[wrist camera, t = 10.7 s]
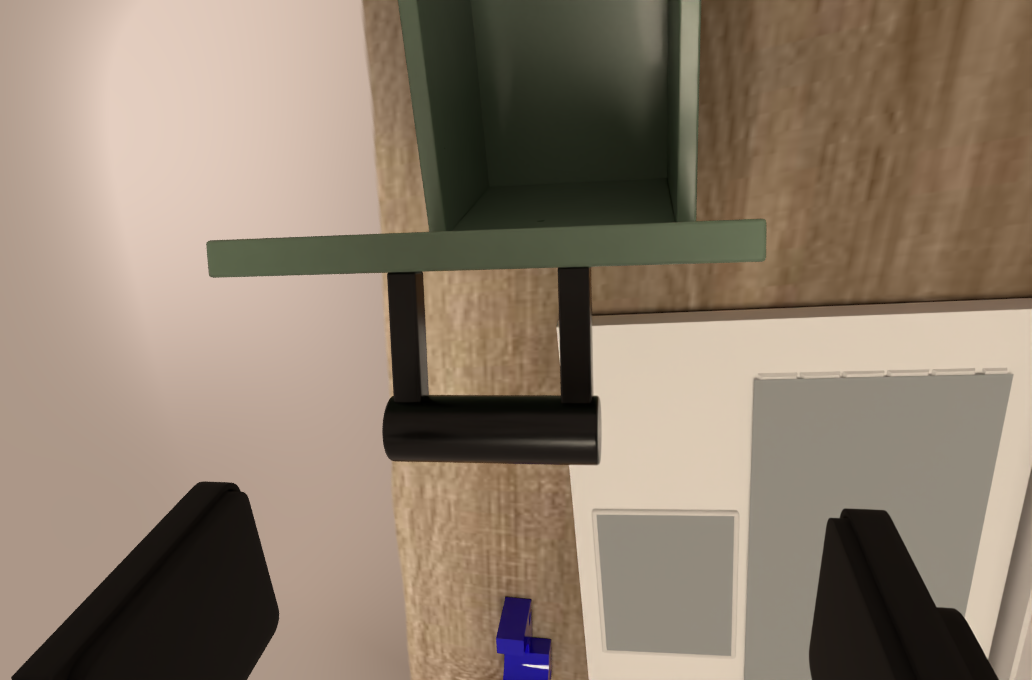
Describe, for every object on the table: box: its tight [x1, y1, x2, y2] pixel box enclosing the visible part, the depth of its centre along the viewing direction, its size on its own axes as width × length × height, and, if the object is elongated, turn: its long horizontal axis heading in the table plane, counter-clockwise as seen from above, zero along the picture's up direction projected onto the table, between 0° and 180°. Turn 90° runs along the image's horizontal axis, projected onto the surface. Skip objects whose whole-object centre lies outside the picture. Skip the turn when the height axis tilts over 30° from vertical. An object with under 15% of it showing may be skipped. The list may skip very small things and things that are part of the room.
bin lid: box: [206, 219, 766, 465], centre depth 22 cm, size 16×12×5 cm
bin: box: [398, 0, 701, 232], centre depth 32 cm, size 16×12×11 cm
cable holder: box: [496, 597, 552, 680], centre depth 54 cm, size 8×4×4 cm, turn 2°
